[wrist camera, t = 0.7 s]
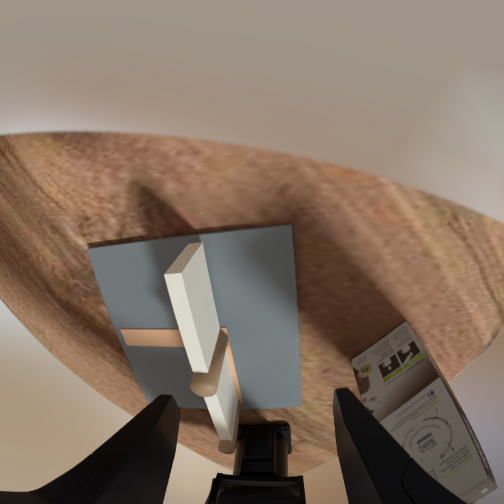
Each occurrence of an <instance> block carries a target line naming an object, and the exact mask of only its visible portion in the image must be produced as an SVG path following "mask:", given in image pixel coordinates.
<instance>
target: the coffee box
mask: <svg viewBox="0 0 504 504" xmlns="http://www.w3.org/2000/svg"><path fill="white" fill-rule="evenodd" d="M351 364H352V367H353V371H354V374H355V378H356V381H357V385H358V388H359V392H360V395H361V399H362V403H363V405H364V406H365V407H366V408H367V409H368V410H369V411H370V412H371V414H372V415H373V416H374V417H375V418H376V419H377V420H378V421H379V422H380V423H381V424H382V426H383V427H384V428H385V429H386V430H387V431H388V432H389V433H390V434H391V435H392V436H393V437H394V439H395V440H396V441H397V442H398V443H399V444H400V445H401V446H402V447H403V448H404V449H405V450H406V451H407V452H408V453H409V455H410V457H412V458H413V459H414V460H415V461H416V462H417V463H418V464H419V465H420V466H421V467H422V468H423V469H424V470H425V471H426V472H427V473H428V474H429V475H431V476H432V477H433V478H434V479H435V480H437V481H438V482H439V483H440V484H442V485H443V486H444V487H446V488H447V489H448V490H450V491H451V492H452V493H454V494H455V495H456V496H458V497H459V498H460V499H462V500H463V501H465V502H466V503H467V504H474V503H475V502H476V501H478V500H479V499H481V498H483V497H484V496H486V495H487V494H489V493H491V492H492V491H493V490H495V489H496V488H497V487H498V486H497V484H496V481H495V478H494V476H493V473H492V471H491V468H490V466H489V463H488V461H487V459H486V457H485V454H484V452H483V450H482V448H481V446H480V443H479V441H478V439H477V437H476V435H475V433H474V431H473V429H472V427H471V425H470V423H469V421H468V419H467V417H466V415H465V413H464V411H463V409H462V407H461V406H460V404H459V402H458V400H457V398H456V397H455V395H454V393H453V391H452V390H451V388H450V386H449V384H448V383H447V381H446V379H445V377H444V376H443V374H442V372H441V371H440V369H439V368H438V366H437V365H436V363H435V361H434V360H433V358H432V357H431V355H430V354H429V352H428V351H427V350H426V348H425V347H424V345H423V344H422V342H421V341H420V340H419V338H418V337H417V335H416V334H415V332H414V331H413V330H412V328H411V327H410V325H409V324H408V322H404V323H402V324H401V325H400V326H398V327H397V328H396V329H394V330H393V331H392V332H391V333H389V334H388V335H387V336H385V337H384V338H382V339H381V340H380V341H378V342H377V343H375V344H374V345H373V346H371V347H370V348H368V349H367V350H365V351H364V352H362V353H361V354H360V355H358V356H357V357H355V358H354V359H352V361H351Z"/></svg>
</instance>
